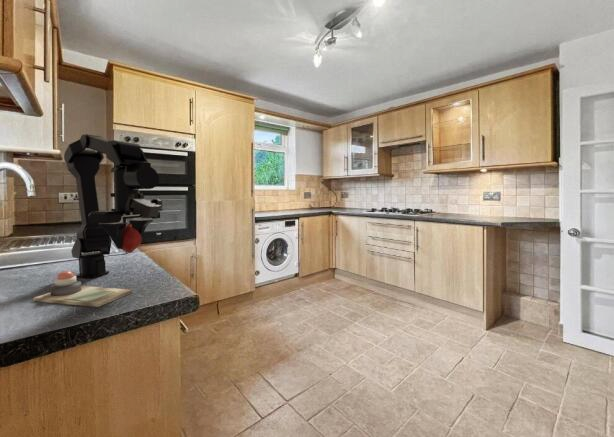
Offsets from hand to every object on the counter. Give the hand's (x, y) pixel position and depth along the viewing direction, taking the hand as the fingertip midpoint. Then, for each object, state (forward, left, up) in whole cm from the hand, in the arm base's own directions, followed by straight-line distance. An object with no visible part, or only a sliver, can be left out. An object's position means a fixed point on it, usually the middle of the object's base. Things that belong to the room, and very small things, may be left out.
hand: (129, 247), depth 80 cm
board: (-5, -9, -11) cm, 15 cm away
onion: (0, 0, -2) cm, 2 cm away
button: (-11, -9, -8) cm, 16 cm away
